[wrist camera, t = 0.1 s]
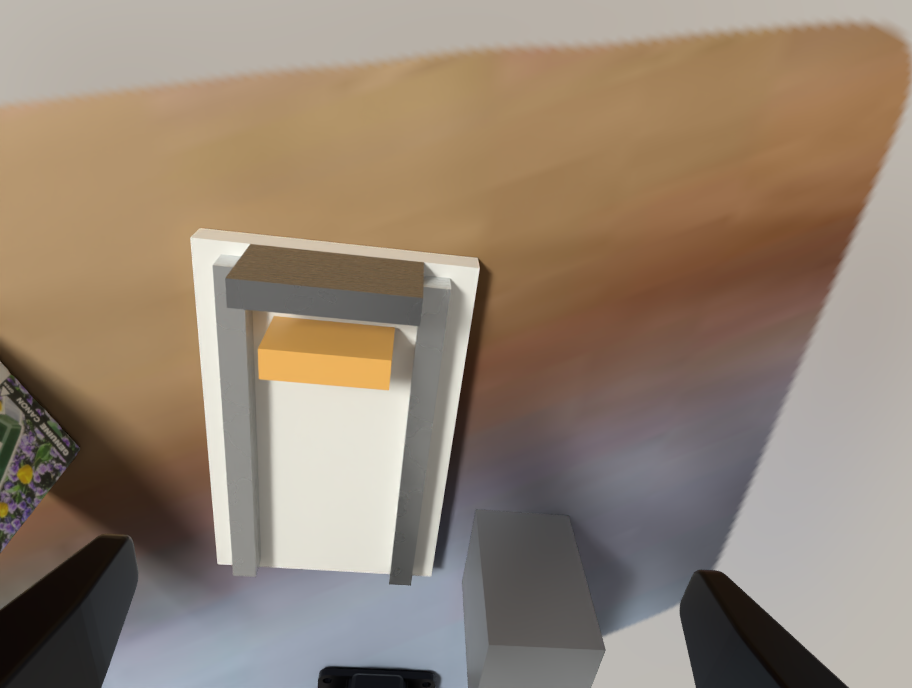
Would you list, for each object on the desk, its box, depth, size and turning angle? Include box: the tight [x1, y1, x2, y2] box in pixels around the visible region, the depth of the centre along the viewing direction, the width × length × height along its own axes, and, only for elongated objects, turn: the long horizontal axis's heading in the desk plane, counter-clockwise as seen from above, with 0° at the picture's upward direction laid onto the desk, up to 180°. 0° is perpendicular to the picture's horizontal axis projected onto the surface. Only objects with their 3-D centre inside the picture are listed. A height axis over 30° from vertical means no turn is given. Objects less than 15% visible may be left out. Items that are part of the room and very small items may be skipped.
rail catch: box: [258, 316, 395, 390], centre depth 22 cm, size 1×4×2 cm, turn 82°
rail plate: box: [190, 228, 480, 585], centre depth 24 cm, size 16×10×4 cm, turn 172°
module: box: [462, 509, 605, 688], centre depth 27 cm, size 5×4×7 cm
